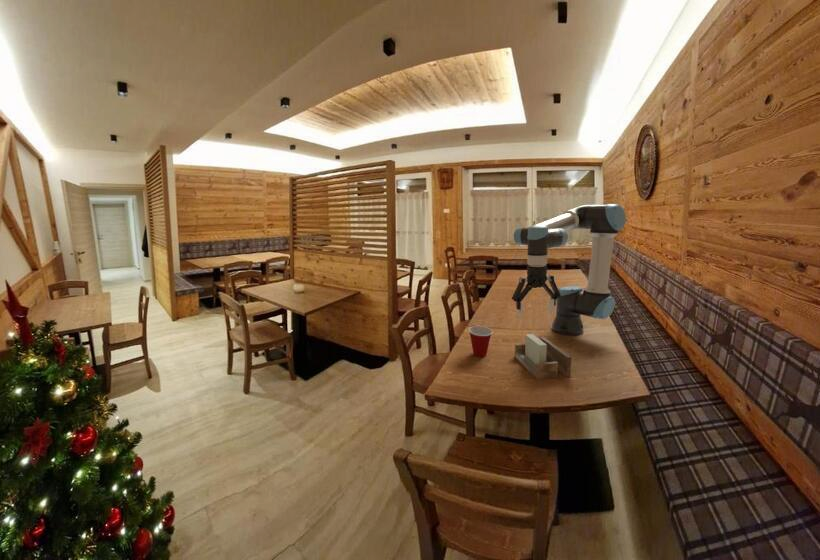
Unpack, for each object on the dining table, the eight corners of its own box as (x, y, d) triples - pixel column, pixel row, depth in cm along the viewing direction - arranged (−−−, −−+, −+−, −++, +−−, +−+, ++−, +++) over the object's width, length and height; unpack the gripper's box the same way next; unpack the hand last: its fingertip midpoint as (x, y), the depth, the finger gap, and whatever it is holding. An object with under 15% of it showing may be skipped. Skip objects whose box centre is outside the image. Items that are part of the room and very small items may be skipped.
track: (542, 353, 156) (543, 336, 154) (570, 376, 135) (571, 357, 133) (514, 356, 155) (514, 339, 153) (537, 379, 134) (538, 360, 132)
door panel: (531, 359, 151) (532, 333, 148) (545, 372, 139) (546, 344, 136) (524, 360, 150) (525, 334, 148) (538, 373, 139) (539, 345, 136)
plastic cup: (486, 361, 151) (486, 335, 148) (464, 356, 157) (464, 331, 154) (496, 352, 159) (496, 328, 156) (474, 347, 165) (474, 324, 163)
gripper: (560, 260, 144) (558, 309, 149) (503, 265, 141) (503, 315, 146) (571, 263, 137) (568, 314, 142) (511, 269, 134) (511, 321, 138)
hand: (535, 315), depth 144 cm, fingers open, 13 cm apart
